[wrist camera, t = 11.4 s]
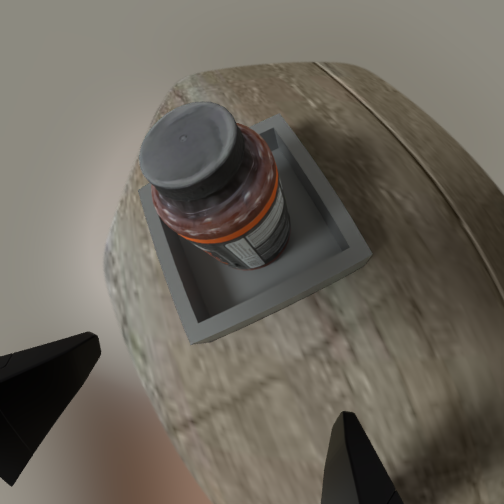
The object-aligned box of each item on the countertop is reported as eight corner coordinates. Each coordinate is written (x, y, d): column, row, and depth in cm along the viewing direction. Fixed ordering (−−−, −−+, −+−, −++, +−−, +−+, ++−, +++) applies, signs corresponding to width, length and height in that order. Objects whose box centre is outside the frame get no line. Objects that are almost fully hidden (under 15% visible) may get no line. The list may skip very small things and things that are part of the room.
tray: (363, 266, 19) (372, 254, 16) (210, 342, 20) (190, 344, 17) (285, 140, 23) (279, 113, 19) (159, 207, 24) (137, 190, 20)
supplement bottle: (195, 233, 21) (97, 156, 11) (252, 178, 21) (198, 66, 11) (247, 291, 19) (164, 248, 9) (310, 230, 20) (299, 123, 9)
